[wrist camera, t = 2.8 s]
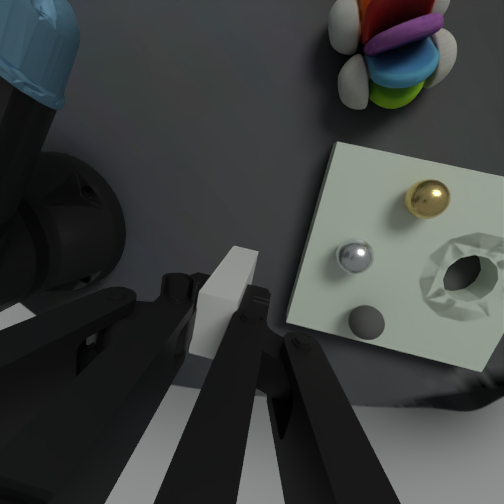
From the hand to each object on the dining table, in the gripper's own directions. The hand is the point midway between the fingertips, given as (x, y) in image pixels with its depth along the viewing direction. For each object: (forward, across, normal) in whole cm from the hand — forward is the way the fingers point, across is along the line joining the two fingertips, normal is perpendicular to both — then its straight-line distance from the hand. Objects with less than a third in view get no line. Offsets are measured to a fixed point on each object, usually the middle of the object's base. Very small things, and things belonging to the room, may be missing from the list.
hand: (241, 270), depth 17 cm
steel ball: (+9, +9, 0) cm, 13 cm away
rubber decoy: (+9, +12, -6) cm, 16 cm away
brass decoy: (+9, +13, +6) cm, 17 cm away
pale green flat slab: (+14, +15, 0) cm, 20 cm away
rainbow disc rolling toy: (+14, +6, +17) cm, 23 cm away
